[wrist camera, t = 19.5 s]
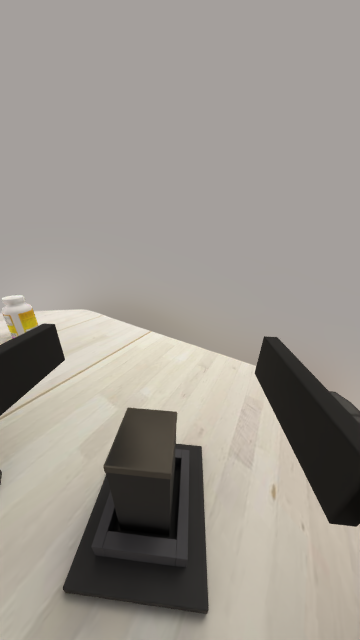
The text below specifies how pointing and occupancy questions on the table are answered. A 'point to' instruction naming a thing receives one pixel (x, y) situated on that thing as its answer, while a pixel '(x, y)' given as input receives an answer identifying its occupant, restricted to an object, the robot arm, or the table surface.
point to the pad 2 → (148, 549)
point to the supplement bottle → (18, 315)
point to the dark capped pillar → (143, 470)
